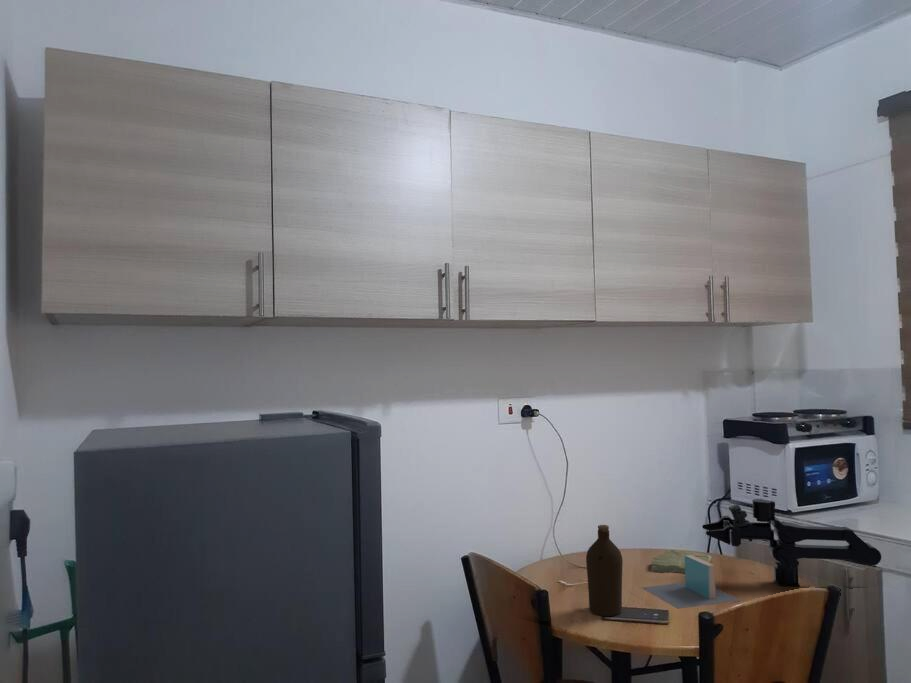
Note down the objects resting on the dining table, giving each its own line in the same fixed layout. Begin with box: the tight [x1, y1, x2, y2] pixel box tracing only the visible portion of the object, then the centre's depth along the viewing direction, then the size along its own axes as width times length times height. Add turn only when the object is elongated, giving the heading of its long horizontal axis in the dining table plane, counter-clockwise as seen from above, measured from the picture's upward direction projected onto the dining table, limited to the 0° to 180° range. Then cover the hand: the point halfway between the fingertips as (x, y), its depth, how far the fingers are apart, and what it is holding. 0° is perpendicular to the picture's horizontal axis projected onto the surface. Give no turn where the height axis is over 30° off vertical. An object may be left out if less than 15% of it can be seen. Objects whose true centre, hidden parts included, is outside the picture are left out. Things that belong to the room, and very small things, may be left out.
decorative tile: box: [650, 549, 713, 574], centre depth 245 cm, size 19×20×4 cm
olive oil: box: [585, 524, 624, 617], centre depth 202 cm, size 11×11×25 cm
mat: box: [641, 582, 740, 609], centre depth 214 cm, size 22×20×1 cm
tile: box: [684, 555, 716, 599], centre depth 215 cm, size 2×12×10 cm, turn 16°
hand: (704, 529), depth 230 cm, fingers open, 9 cm apart
